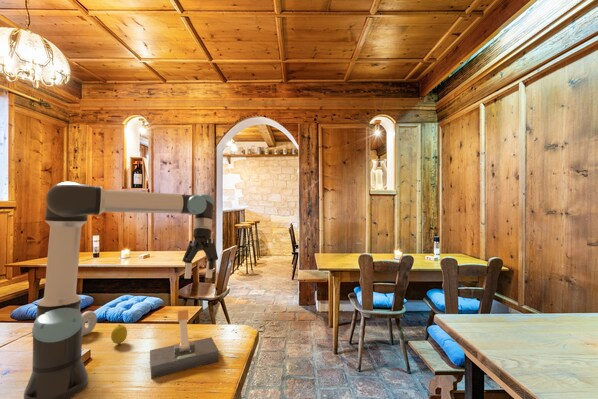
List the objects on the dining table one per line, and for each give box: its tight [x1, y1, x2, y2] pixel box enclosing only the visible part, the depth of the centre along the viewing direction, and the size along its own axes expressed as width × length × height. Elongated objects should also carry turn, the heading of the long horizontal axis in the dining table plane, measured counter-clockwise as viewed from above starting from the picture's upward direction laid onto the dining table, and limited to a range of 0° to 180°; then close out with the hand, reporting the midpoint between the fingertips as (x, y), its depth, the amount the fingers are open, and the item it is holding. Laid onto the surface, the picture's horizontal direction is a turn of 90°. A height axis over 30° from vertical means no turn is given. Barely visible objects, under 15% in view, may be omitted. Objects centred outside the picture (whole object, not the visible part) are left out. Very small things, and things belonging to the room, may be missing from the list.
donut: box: [81, 310, 98, 337], centre depth 127 cm, size 10×4×10 cm, turn 175°
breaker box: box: [149, 336, 220, 379], centre depth 106 cm, size 22×12×6 cm, turn 119°
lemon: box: [110, 324, 128, 345], centre depth 119 cm, size 6×6×8 cm
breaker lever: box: [176, 309, 189, 351], centre depth 109 cm, size 4×3×14 cm
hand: (197, 278), depth 124 cm, fingers open, 13 cm apart
